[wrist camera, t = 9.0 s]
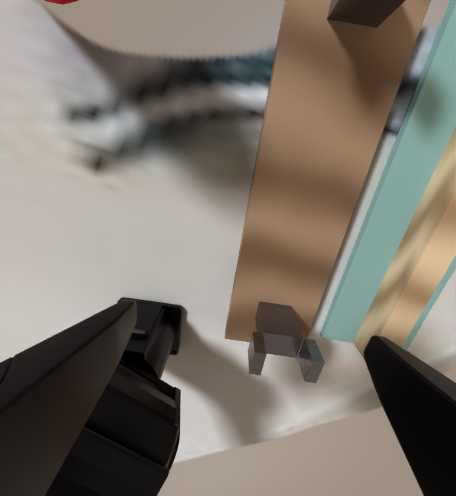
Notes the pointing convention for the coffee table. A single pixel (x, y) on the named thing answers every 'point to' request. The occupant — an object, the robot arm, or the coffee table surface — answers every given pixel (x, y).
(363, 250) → the teal mat
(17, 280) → the coffee table surface
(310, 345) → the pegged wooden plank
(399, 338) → the oak rail
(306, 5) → the walnut board
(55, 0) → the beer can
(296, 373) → the coffee table surface
